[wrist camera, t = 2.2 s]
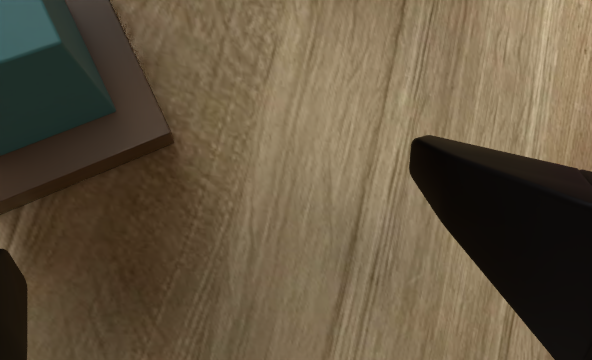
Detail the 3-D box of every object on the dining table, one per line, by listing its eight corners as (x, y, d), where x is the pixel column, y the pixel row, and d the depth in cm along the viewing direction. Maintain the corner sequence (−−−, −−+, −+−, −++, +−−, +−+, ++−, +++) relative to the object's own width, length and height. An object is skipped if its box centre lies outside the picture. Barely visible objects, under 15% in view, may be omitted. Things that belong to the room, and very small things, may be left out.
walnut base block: (174, 142, 22) (171, 132, 19) (-6, 217, 20) (-40, 217, 17) (100, -16, 22) (85, -51, 19) (-90, 42, 20) (-139, 13, 17)
